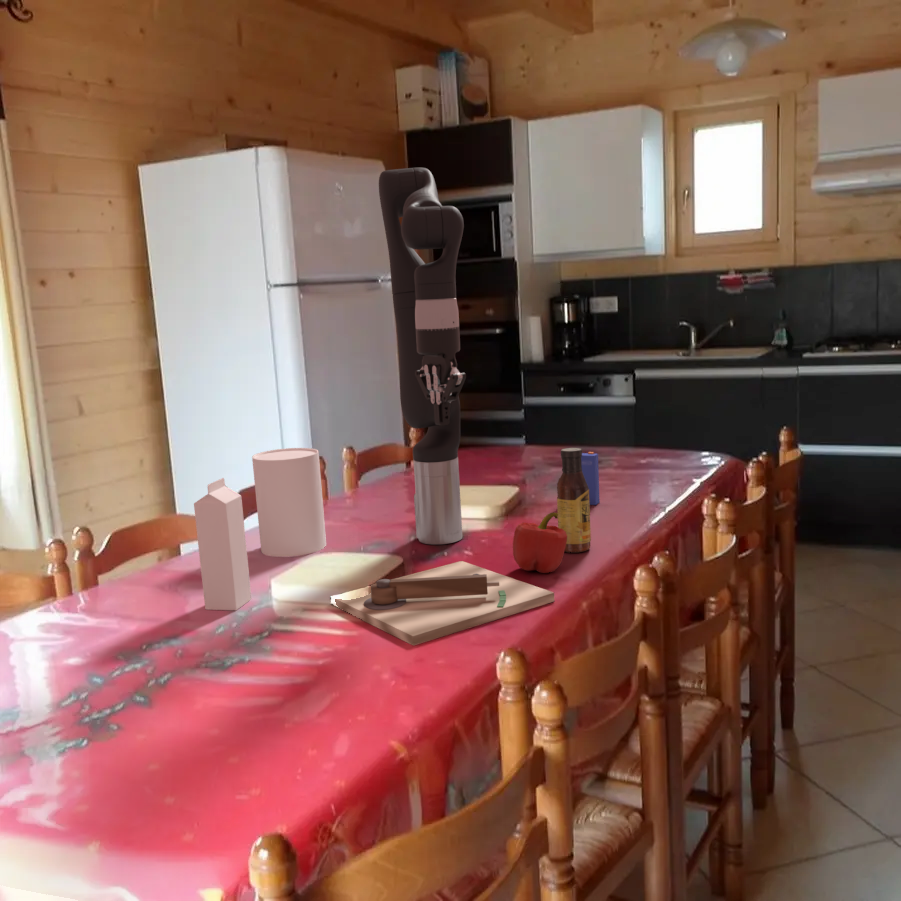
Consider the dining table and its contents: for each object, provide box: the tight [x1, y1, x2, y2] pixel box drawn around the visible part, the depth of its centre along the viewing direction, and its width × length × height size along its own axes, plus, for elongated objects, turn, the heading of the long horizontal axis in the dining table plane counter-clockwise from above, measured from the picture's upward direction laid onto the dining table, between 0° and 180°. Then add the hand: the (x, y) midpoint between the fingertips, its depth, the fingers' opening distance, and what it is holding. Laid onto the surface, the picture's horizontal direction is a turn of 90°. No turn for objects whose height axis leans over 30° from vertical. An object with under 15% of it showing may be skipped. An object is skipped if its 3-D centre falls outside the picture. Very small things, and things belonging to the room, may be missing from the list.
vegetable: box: [512, 511, 567, 574], centre depth 178 cm, size 11×10×10 cm
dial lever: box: [370, 574, 499, 604], centre depth 161 cm, size 4×21×3 cm, turn 90°
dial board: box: [335, 560, 555, 646], centre depth 164 cm, size 26×28×2 cm
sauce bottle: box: [556, 447, 592, 554], centre depth 189 cm, size 6×6×20 cm
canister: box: [251, 447, 327, 558], centre depth 202 cm, size 14×14×20 cm
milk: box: [193, 477, 252, 611], centre depth 168 cm, size 6×6×22 cm
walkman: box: [581, 451, 601, 506], centre depth 226 cm, size 8×3×12 cm, turn 63°
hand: (442, 424), depth 171 cm, fingers closed
